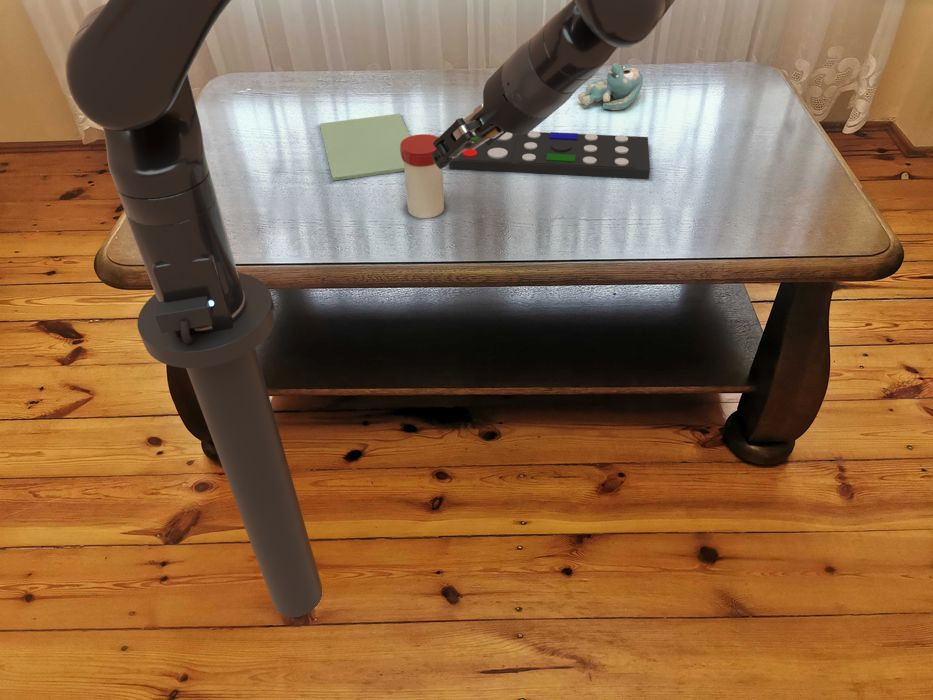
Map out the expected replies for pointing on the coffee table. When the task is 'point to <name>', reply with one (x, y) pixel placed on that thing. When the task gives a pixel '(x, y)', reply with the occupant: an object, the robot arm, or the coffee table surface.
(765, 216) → the coffee table surface
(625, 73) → the stuffed animal
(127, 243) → the coffee table surface
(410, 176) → the beige jar
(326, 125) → the felt mat
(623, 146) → the remote control
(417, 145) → the red lid
